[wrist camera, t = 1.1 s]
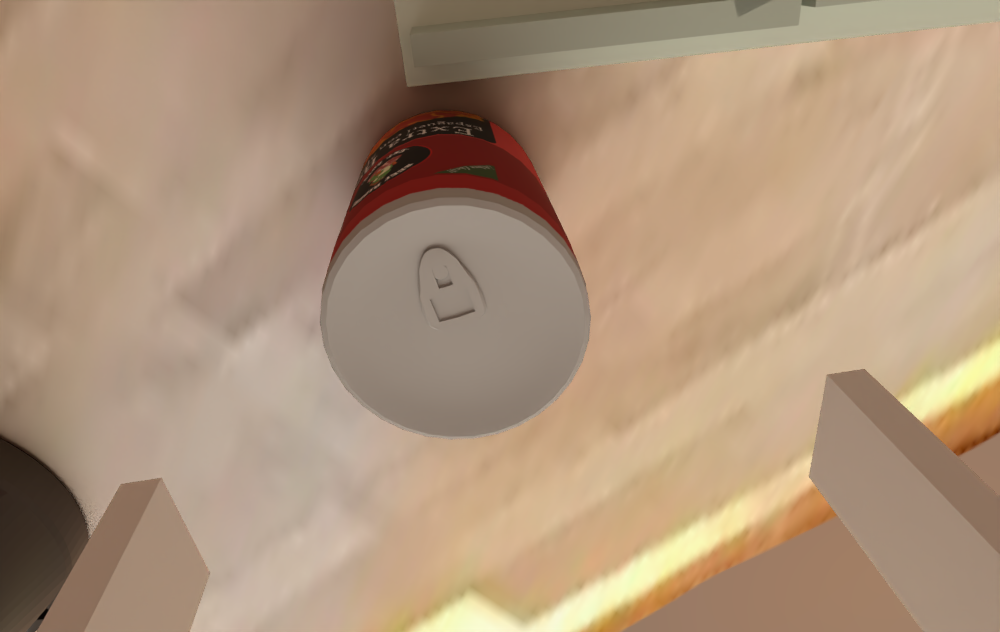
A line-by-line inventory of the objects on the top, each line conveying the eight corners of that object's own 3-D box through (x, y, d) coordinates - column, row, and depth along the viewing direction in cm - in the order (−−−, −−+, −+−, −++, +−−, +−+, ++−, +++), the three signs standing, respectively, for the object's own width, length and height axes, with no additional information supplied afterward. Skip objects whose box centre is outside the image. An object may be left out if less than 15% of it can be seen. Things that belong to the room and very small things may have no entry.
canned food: (475, 65, 25) (500, 136, 15) (572, 227, 28) (641, 364, 19) (318, 172, 26) (251, 296, 17) (429, 312, 30) (427, 479, 20)
